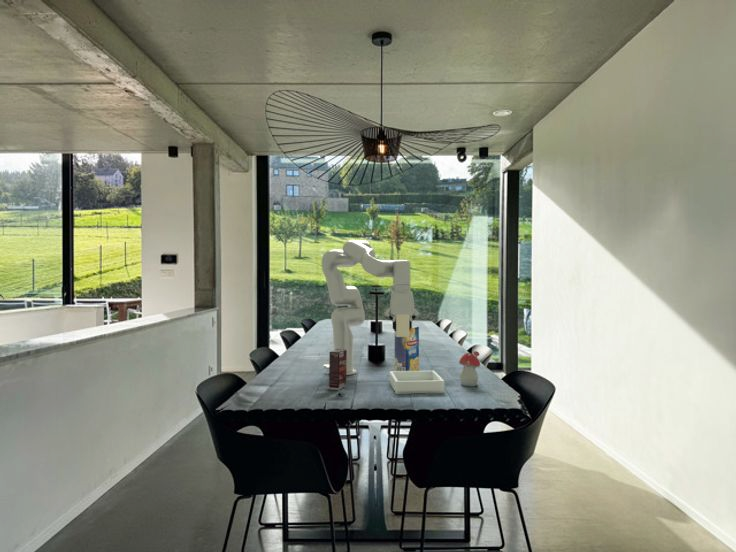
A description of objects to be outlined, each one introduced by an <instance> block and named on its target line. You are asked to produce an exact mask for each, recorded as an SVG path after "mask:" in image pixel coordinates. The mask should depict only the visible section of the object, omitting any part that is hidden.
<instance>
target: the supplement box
mask: <svg viewBox="0 0 736 552" xmlns="http://www.w3.org/2000/svg"><path fill="white" fill-rule="evenodd" d="M328 355H329V362H328V363H329V364H328V365H329V369H328V370H329V371H328V372H329V374H328V377H329V378H328V380H329V382H328V383H329V384H328V390H331V391H332V390H333V391H340V390H341V389H344V388H345V386H346V387H347V375H346V369H347V368H346V365H347V350H343V349H337V350H334V351H333V350H331V351H329V354H328ZM343 387H344V388H343Z"/></svg>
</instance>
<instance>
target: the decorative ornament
mask: <svg viewBox="0 0 736 552" xmlns="http://www.w3.org/2000/svg"><path fill="white" fill-rule="evenodd" d="M479 356H480V352H478V351H477V350H475V351H473V353H471V352H467V353H464V354H462V356H461V357H460V359H459V361H458V363H459V365H461V366H463V369H462V370H461V372H460V374H459V379H460V380H459V381H460V383H461V385H462V386H463V387H476V386H478V380H479V375H478V372H477V369H476V368H480V366H481V362H480V359H479V358H478V357H479Z"/></svg>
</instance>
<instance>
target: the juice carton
mask: <svg viewBox="0 0 736 552" xmlns="http://www.w3.org/2000/svg"><path fill="white" fill-rule="evenodd" d="M395 336H396V337H409V314H405V315H396V331H394V337H395Z"/></svg>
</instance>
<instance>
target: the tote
mask: <svg viewBox="0 0 736 552" xmlns="http://www.w3.org/2000/svg"><path fill="white" fill-rule="evenodd" d="M389 384H390V386H391V388H392V389H394V390H393V392H394V391H395V392H394V394H395V393H396V394H395V395H411V393H412V395H413V393H426V394H445V379H443V378H442V377H441V376H440V375H439V374H438V373H437V372H436V371H435V370H419V371H395V370H391V371H389Z"/></svg>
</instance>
